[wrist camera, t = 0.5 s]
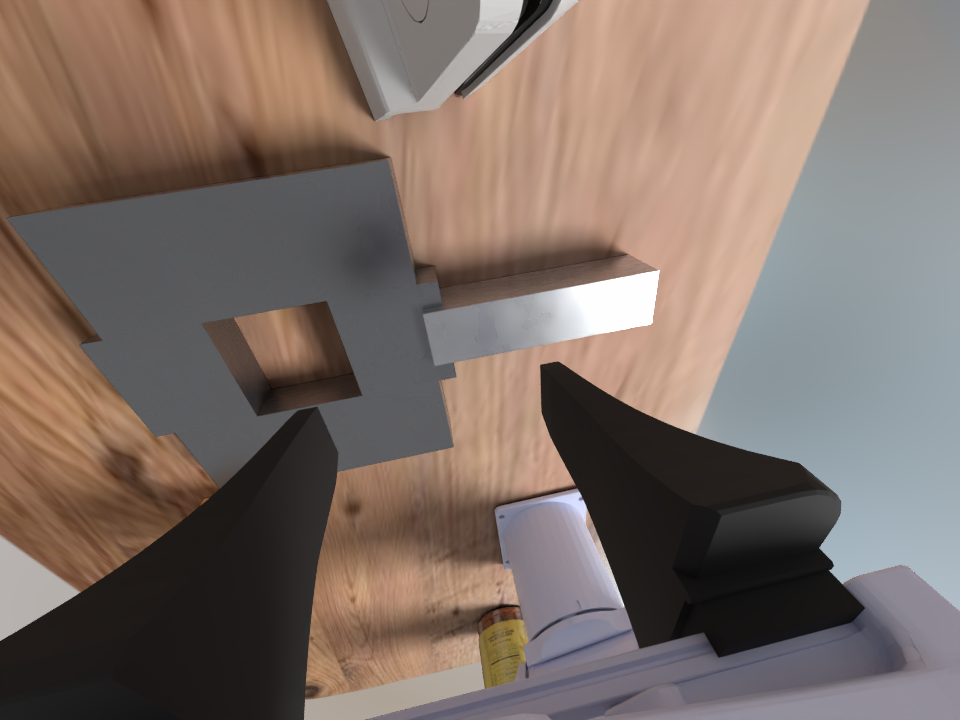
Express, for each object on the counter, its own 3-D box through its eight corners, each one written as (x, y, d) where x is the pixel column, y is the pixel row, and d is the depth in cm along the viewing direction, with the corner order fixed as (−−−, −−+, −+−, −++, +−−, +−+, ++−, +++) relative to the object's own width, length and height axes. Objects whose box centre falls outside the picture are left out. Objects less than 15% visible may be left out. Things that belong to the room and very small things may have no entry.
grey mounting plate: (615, 386, 26) (638, 413, 23) (225, 467, 24) (203, 506, 21) (642, 119, 17) (681, 116, 15) (35, 210, 15) (-38, 225, 13)
